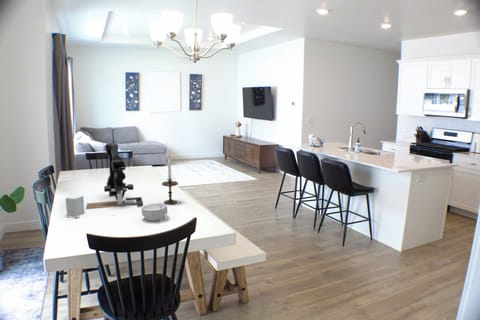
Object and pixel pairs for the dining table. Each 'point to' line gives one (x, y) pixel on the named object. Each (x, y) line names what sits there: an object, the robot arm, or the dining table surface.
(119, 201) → the grey block
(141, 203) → the tray
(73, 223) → the dining table surface
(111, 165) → the robot arm
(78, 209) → the supplement box
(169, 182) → the candlestick
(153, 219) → the paper bowls
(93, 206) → the board
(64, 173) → the dining table surface
